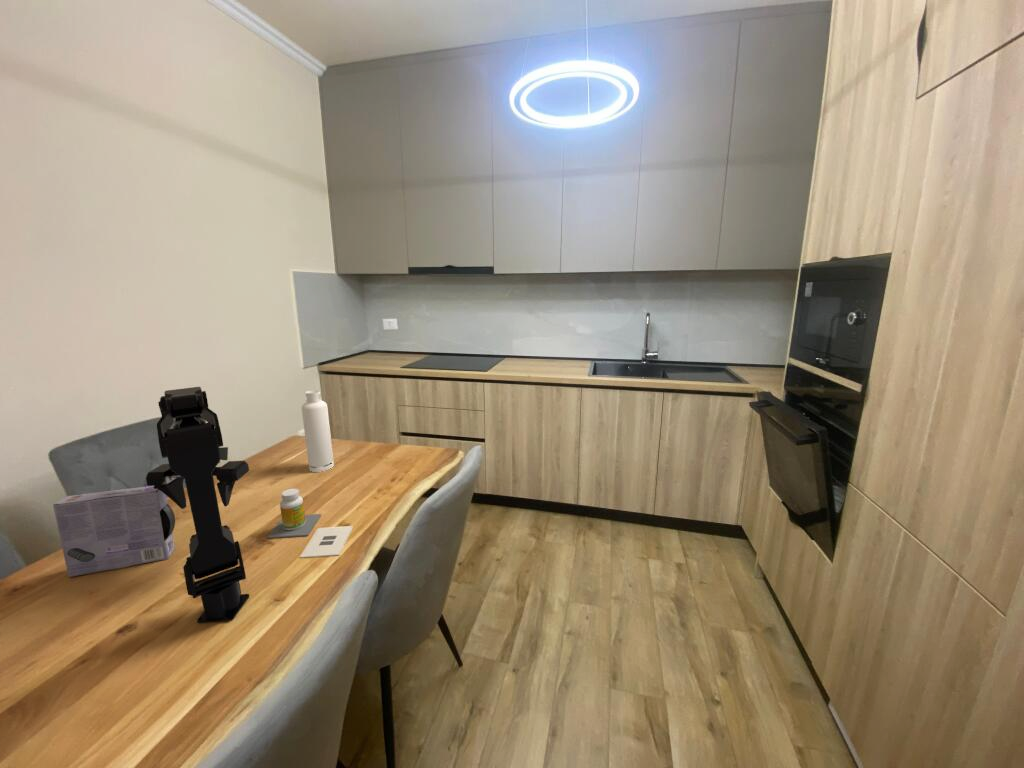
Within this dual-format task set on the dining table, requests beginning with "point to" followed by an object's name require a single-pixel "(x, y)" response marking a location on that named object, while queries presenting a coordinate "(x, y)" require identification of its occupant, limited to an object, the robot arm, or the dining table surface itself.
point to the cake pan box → (114, 529)
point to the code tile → (327, 542)
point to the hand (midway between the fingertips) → (205, 506)
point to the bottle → (317, 432)
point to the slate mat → (302, 531)
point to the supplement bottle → (292, 510)
